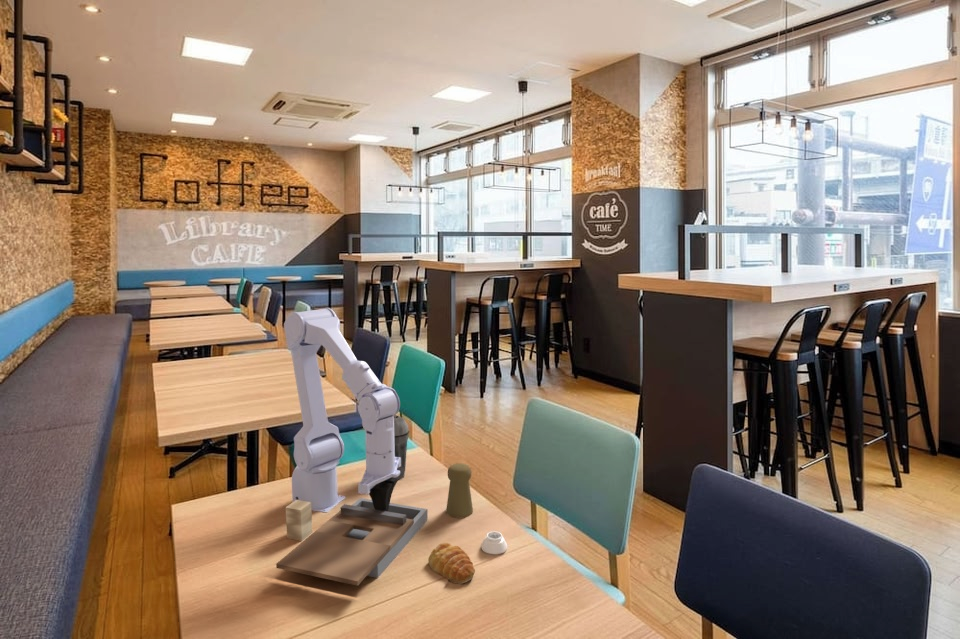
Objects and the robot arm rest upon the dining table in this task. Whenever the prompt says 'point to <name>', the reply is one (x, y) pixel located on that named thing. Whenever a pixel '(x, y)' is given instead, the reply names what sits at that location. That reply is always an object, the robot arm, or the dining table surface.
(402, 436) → the beverage cup
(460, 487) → the olive pawn figure
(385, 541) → the lid
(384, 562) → the shallow grey box
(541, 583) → the dining table surface
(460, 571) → the pastry
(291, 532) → the block
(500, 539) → the white upturned bowl
